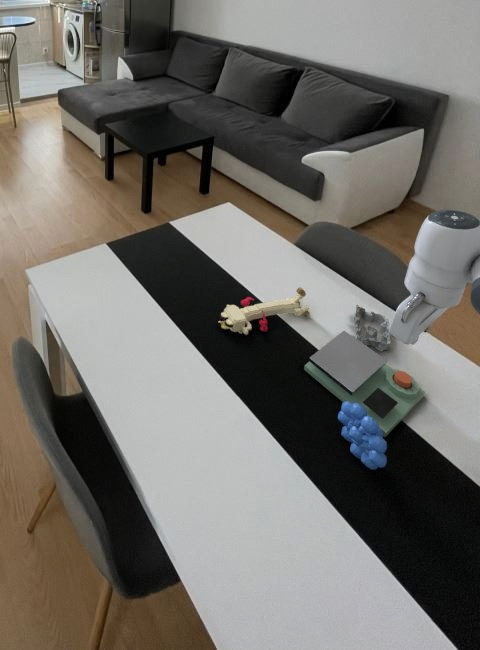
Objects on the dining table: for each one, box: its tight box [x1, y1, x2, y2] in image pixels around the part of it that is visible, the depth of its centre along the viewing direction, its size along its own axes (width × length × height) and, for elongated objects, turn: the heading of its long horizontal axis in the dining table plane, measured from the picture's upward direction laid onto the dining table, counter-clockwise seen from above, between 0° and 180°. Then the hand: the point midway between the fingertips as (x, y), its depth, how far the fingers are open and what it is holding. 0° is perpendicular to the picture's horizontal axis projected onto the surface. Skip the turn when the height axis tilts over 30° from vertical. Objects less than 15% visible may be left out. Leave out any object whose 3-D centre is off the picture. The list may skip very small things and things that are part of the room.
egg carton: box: [353, 304, 392, 352], centre depth 109 cm, size 11×8×4 cm
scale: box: [303, 361, 426, 438], centre depth 98 cm, size 18×16×3 cm
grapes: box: [337, 401, 388, 471], centre depth 83 cm, size 12×7×12 cm, turn 3°
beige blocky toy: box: [217, 287, 310, 336], centre depth 115 cm, size 10×9×25 cm
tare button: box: [394, 370, 412, 389], centre depth 95 cm, size 3×3×2 cm
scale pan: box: [308, 330, 398, 419], centre depth 97 cm, size 16×14×1 cm
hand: (416, 334), depth 90 cm, fingers open, 4 cm apart
